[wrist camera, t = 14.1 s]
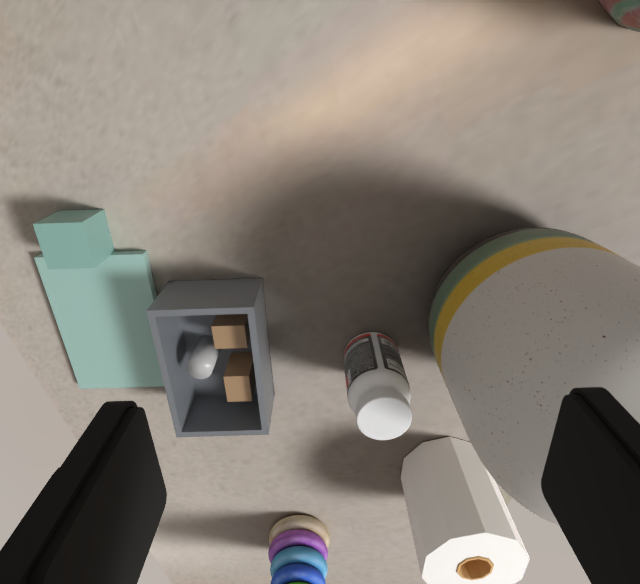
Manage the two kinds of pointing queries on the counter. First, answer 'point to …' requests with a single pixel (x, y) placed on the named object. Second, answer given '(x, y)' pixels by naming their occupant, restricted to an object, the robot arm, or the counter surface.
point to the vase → (533, 344)
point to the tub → (214, 356)
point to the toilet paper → (459, 517)
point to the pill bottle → (377, 386)
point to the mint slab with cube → (98, 300)
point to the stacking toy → (298, 550)
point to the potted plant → (624, 12)
